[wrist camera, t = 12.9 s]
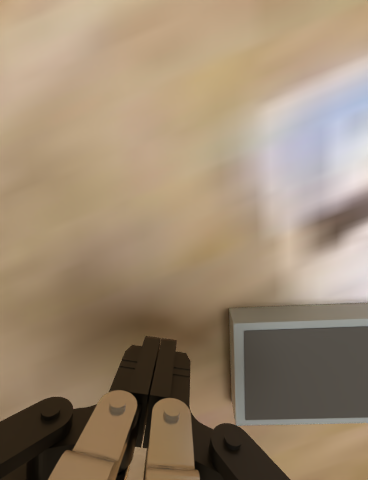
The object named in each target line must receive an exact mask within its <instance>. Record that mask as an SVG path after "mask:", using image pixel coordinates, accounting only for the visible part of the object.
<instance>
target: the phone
mask: <svg viewBox="0 0 368 480" xmlns="http://www.w3.org/2000/svg"><path fill="white" fill-rule="evenodd" d="M229 327H230V365H231V401H232V406H233V412H234V418H235V423H236V426H242V425H291V424H339V423H368V303H347V304H320V305H294V306H268V307H242V308H229Z"/></svg>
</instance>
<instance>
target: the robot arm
mask: <svg viewBox="0 0 368 480" xmlns="http://www.w3.org/2000/svg"><path fill="white" fill-rule="evenodd" d="M160 339H161V338H157V337H150V336H145V339H144V342H143V345H142V346H135V345H132V346H131V347H130V348H129V349H127V350H126V351H125V353H124V356H123V358H122V361H121V363H120V366H119V368H118V371H117V373H116V376H115V378H114V381H113V383H112V385H111V388H110V390H109V393H107V394H105V395H104V396H103V397H102V398H101V399H100V400H99V402H98V404H96V405H93V406H90V407H86V408H78V409H73V406H72V404H71V402H70V401H69V400H67V399H65V398H62V397H51V398H47V399H44V400H42V401H40V402H38V403H36V404H34V405H32V406H30V407H28V408H26V409H24V410H22V411H20V412H18V413H16V414H14V415H12V416H10V417H9V418H7V419H5V420H3V421H1V422H0V480H126V479H127V475H128V472H129V468H130V463H131V461H132V458H133V454H134V449H135V447H141V445H142V440H143V435H144V430H145V435H144V442H143V448H147V453H146V460H145V467H144V475H143V480H290V479H289V478H288V477H287V476H286V475H285V473H284V472H283V471H282V470H281V469H280V468H279V467H278V466H277V465H276V464H275V463H274V462H273V461H272V460H271V459H270V458H269V456H268V455H267V454H266V453H265V452H264V451H263V450H262V449H261V448H260V447H259V446H258V445H257V444H256V443H255V442H254V440H253V439H252V438H251V437H250V436H249V435H248V434H247V433H246V432H245V431H244V430H243V429H241V428H240V427H238V426H236V425H233V424H228V423H224V424H220V425H218V426H216V427H215V428H214V430H213V429H211V428H209V427H207V426H205V425H203V424H201V423H200V422H198V421H197V420H196V419H195V418H194V416H193V415H192V413H191V411H190V407H189V395H190V359H189V358H188V356H187V354H186V353H182V352H175V350H176V341H177V340H171V339H164V338H162V340H161V344H160ZM159 347H160V349H159ZM145 425H146V428H145Z"/></svg>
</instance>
